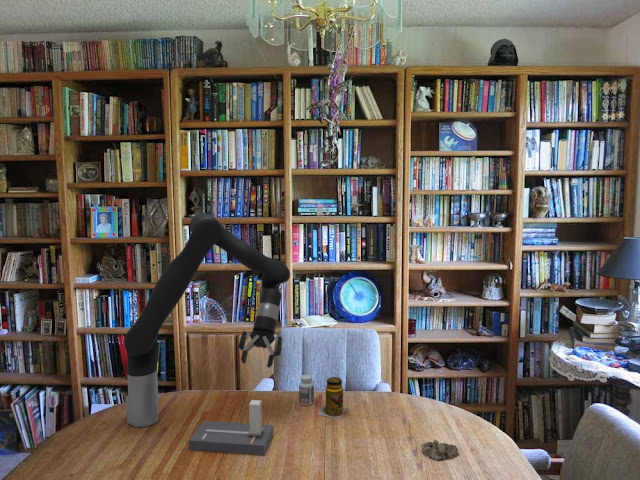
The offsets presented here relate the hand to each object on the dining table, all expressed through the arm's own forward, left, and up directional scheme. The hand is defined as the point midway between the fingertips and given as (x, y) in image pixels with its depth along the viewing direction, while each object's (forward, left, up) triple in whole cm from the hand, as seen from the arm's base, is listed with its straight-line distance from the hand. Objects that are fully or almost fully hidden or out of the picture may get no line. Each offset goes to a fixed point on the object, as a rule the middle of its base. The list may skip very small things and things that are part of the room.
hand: (256, 365), depth 154 cm
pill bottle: (+14, +15, -20) cm, 29 cm away
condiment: (+24, +9, -20) cm, 33 cm away
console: (-4, -14, -19) cm, 24 cm away
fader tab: (+3, -14, -16) cm, 21 cm away
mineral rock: (+58, -12, -20) cm, 63 cm away
